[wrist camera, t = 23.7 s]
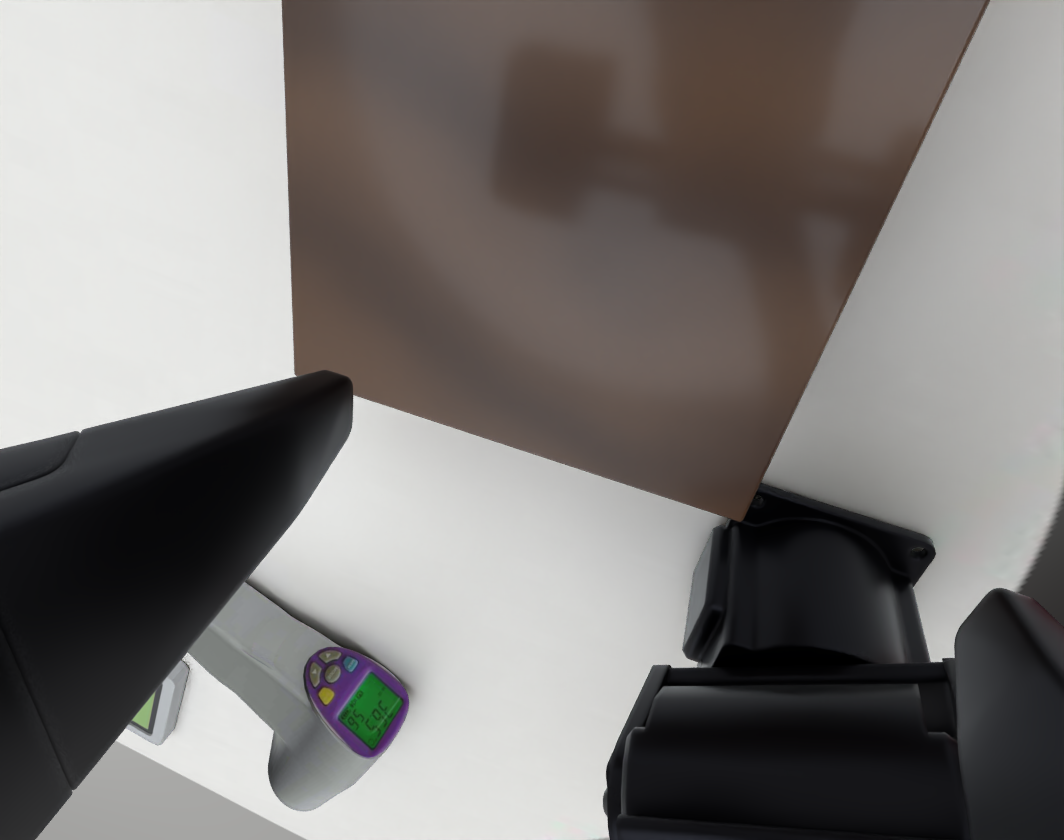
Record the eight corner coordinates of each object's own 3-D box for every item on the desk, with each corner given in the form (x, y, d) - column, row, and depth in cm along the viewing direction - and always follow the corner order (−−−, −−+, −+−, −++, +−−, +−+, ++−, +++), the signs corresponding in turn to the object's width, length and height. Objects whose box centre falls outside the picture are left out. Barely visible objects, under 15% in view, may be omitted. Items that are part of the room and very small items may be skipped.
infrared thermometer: (201, 522, 36) (427, 689, 36) (164, 631, 43) (353, 770, 43) (129, 578, 32) (381, 765, 32) (102, 687, 39) (309, 840, 39)
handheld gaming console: (-41, 561, 41) (172, 685, 41) (-16, 544, 42) (190, 665, 43) (-30, 643, 47) (156, 752, 47) (-8, 626, 48) (173, 732, 48)
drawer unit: (441, -337, 15) (261, -519, 10) (1025, -253, 13) (1194, -424, 8) (400, 293, 24) (293, 376, 19) (749, 397, 22) (741, 524, 17)
